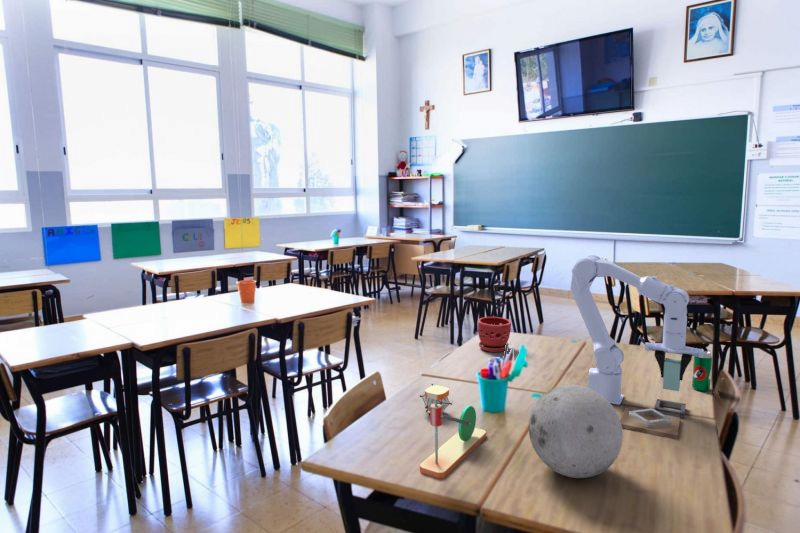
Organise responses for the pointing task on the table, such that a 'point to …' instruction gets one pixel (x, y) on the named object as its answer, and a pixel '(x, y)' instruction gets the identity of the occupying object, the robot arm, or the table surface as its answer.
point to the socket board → (654, 430)
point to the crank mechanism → (456, 445)
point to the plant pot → (493, 333)
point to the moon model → (575, 431)
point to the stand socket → (672, 405)
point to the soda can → (702, 372)
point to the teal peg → (671, 374)
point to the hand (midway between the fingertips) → (671, 377)
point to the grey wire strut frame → (429, 402)
